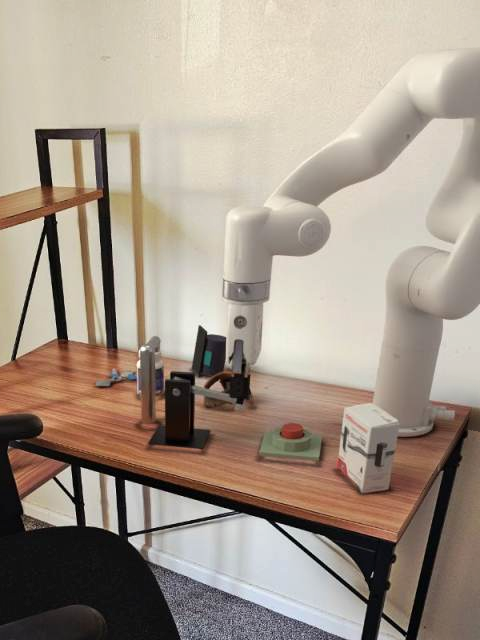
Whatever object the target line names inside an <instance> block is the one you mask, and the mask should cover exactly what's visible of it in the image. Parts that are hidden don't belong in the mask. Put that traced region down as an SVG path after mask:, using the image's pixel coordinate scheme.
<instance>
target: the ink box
mask: <svg viewBox="0 0 480 640" xmlns="http://www.w3.org/2000/svg"><path fill="white" fill-rule="evenodd" d="M341 424H342V425H341V433H340V441H339V449H338V459H337V467H338V468H339V470H340V471H342V472H343V473H344V474H345V475H346V476H347V477H348V478H349V479H350V480H352V481H353V482H354V483H355V484H357V485H356V486H357V487H356V488H357V489H356V490H357V491H358V492H359V493H360V494H368V493H375V492H381V491H387V490H389V488H390V482H391V476H392V470H393V464H394V459H395V453H396V447H397V442H398V437H397V436H398V430H399V423H398V420H397V419H395V418H394V417H392V416H391V415H389V414H388V413H387V412H385V411H384V410H382V409H381V408H380V407H378V406H376V405H375V404H374V403H373V402H367V403H361V404H356V405H351V406H346V407H344V408H343V415H342V423H341Z"/></svg>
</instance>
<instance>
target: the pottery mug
mask: <svg viewBox="0 0 480 640" xmlns="http://www.w3.org/2000/svg"><path fill="white" fill-rule="evenodd" d="M230 376H231V369H230V368H227V369H226V370H225V369H224V371H223V372H220V373H218V374H216V375H214V376H211V377H209V379H208V380H207V381H206V382H205V384H204V386H203V388H205V389H210V390H211V387H212V386H214V385H215V384H216V383H217V382H219V384H220V386H221V387H222V388H223V390H222V391H221V392H222V393H226V394H230ZM245 401H248V403H249V404H250V406H253V405H254V399H253V394H252V389H250V390H249V396H248V398H247V399H246V400H245ZM203 403H204V405H205V406H207V407H217V406H218V407H219V406H223V405H225V404H227V405H233V404H234V403H231V402H227V401H223V400H219V399H215V398H211V397H207V396H203Z"/></svg>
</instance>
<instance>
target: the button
mask: <svg viewBox="0 0 480 640" xmlns="http://www.w3.org/2000/svg"><path fill="white" fill-rule="evenodd" d="M281 427H282V434H281V436H282V437H283V438H286V439H294V440H295V439H301V438H302V437H303V429H304V426H303V425H301V424H299V423H295V422H287V423H284V424H283V425H281Z"/></svg>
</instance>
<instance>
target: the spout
mask: <svg viewBox="0 0 480 640" xmlns="http://www.w3.org/2000/svg"><path fill="white" fill-rule="evenodd" d="M161 343H162V341H161V338H160V337H159V336H158V335H154V336H152V337H151V338H149V340H148V341H147V342H146V343H144V344H143V345H141V347H140V348H139V350H140V358H139V360H140V378H141V395H140V411H141V413H140V416H141V418H140V419H141V423H142V424H144V425H152V424H156V422H157V405H156V404H157V403H156V402H157V401H156V399H157V396H156V389H155V353H158V352H160V350H161Z"/></svg>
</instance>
